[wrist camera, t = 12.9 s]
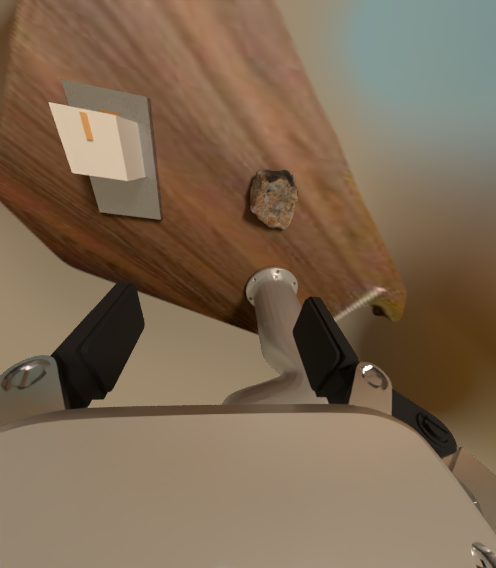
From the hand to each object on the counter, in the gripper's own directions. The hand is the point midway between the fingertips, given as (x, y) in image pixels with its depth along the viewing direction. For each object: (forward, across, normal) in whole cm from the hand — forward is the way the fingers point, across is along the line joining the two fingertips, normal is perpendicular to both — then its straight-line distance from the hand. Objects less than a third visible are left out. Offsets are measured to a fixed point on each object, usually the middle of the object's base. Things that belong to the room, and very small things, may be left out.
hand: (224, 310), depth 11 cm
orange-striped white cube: (+27, +17, -6) cm, 32 cm away
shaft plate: (+28, +17, -4) cm, 33 cm away
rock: (+29, -8, -2) cm, 30 cm away
